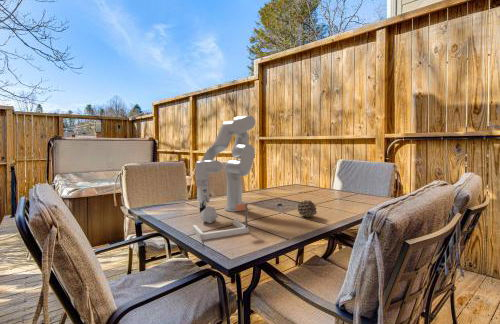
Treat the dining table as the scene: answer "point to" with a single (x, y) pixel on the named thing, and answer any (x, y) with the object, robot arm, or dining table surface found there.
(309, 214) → the pine cone
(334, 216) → the dining table surface
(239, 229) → the white stand base
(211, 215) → the die
